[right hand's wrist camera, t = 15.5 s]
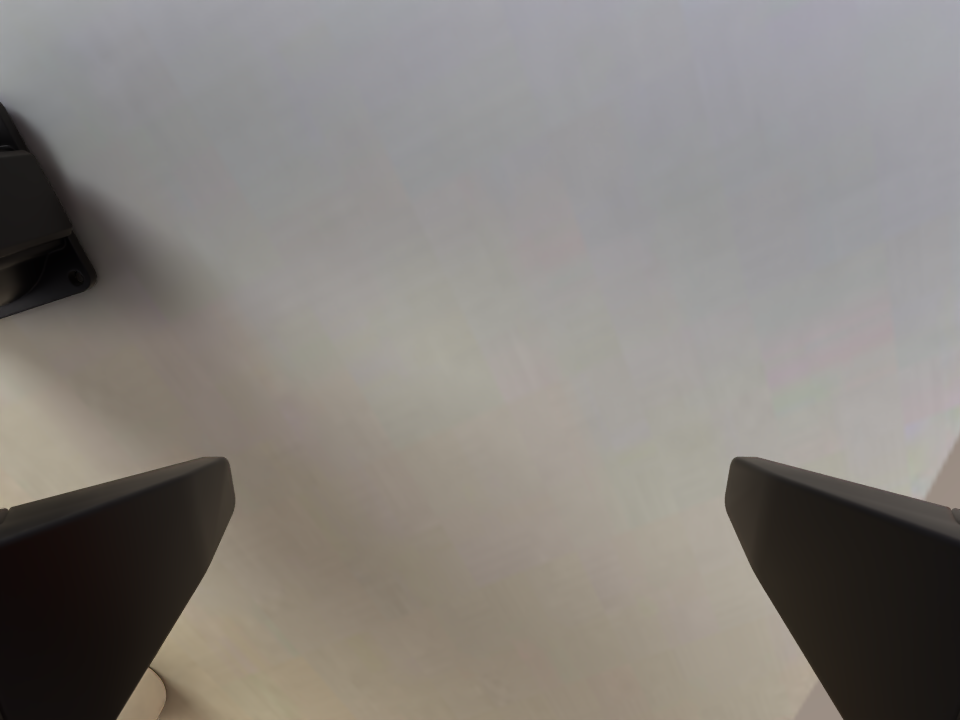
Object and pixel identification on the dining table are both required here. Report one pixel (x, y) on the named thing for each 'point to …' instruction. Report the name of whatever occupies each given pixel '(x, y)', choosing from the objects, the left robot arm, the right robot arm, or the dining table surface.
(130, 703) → the canister
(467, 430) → the dining table surface
